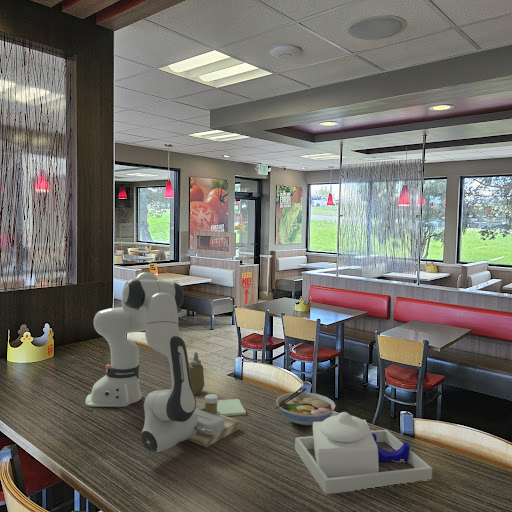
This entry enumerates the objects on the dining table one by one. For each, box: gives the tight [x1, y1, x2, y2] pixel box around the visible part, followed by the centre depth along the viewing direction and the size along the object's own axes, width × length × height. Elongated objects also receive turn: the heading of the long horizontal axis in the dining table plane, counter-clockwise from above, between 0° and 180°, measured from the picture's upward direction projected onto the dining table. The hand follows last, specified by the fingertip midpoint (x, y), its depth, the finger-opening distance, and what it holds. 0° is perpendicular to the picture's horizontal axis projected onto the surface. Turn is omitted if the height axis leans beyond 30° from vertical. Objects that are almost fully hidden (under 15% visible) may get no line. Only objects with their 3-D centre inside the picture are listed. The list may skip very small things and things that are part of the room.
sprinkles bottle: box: [204, 393, 219, 414], centre depth 160 cm, size 5×5×14 cm
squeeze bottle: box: [189, 351, 205, 395], centre depth 198 cm, size 8×8×18 cm
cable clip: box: [372, 433, 411, 463], centre depth 145 cm, size 12×4×6 cm, turn 79°
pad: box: [217, 398, 247, 417], centre depth 182 cm, size 14×14×1 cm
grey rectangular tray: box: [294, 429, 433, 495], centre depth 142 cm, size 34×26×4 cm
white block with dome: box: [312, 411, 380, 478], centre depth 141 cm, size 18×18×16 cm
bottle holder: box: [186, 414, 240, 448], centre depth 160 cm, size 18×12×3 cm, turn 144°
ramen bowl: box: [274, 386, 336, 426], centre depth 172 cm, size 25×23×8 cm
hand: (212, 411), depth 161 cm, fingers closed on sprinkles bottle, 4 cm apart
